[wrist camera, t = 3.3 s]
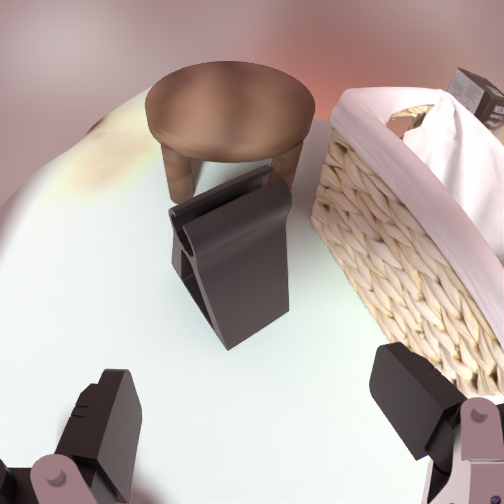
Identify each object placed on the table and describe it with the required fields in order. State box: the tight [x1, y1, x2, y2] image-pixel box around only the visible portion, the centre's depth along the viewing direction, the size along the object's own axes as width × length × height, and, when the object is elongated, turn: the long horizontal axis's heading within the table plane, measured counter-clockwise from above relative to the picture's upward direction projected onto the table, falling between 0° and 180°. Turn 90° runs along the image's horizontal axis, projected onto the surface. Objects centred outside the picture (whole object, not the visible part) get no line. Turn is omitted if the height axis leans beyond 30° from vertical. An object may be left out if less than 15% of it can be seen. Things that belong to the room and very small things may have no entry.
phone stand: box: [169, 165, 292, 351], centre depth 20 cm, size 9×6×12 cm, turn 34°
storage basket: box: [310, 87, 504, 399], centre depth 21 cm, size 24×16×15 cm
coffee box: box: [446, 68, 504, 137], centre depth 30 cm, size 9×6×16 cm
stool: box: [145, 61, 315, 204], centre depth 29 cm, size 16×16×9 cm
